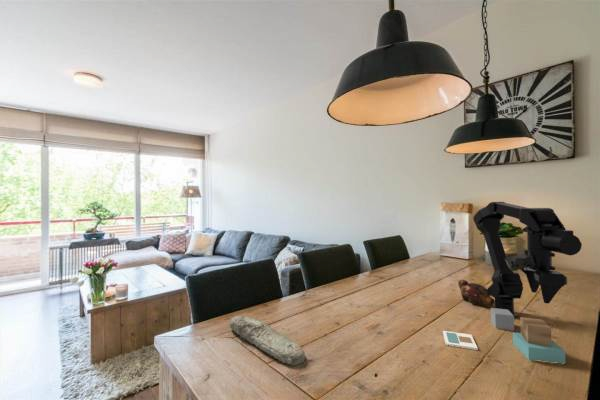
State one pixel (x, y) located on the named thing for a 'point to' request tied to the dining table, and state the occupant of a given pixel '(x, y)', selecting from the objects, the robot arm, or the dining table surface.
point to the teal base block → (539, 350)
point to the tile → (459, 340)
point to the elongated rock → (268, 339)
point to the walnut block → (535, 331)
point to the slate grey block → (502, 319)
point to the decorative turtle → (474, 293)
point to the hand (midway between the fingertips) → (539, 297)
